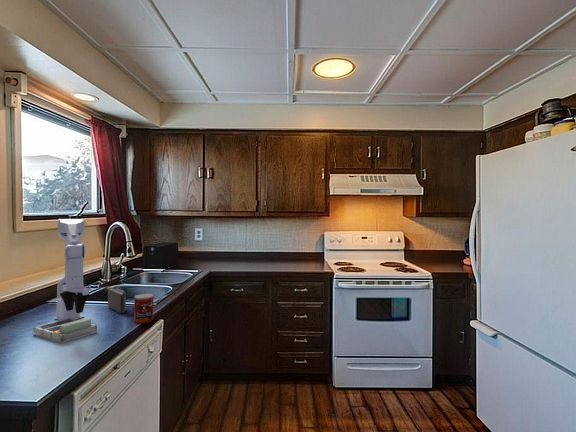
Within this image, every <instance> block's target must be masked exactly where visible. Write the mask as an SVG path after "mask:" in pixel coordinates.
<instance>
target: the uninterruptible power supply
mask: <svg viewBox="0 0 576 432" xmlns="http://www.w3.org/2000/svg"><path fill="white" fill-rule="evenodd" d="M179 249H180V248H179V242H176V241H175V242H171V241H169V242H168V241H166V242H164V241H163V242H155V243H151V244H146V245H143V246H142V254H141V263H142V270H143V269H165V268H168V267H171V266H174V265H177V264H178V265H179V259H180V252H179Z"/></svg>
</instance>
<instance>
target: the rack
mask: <svg viewBox="0 0 576 432" xmlns="http://www.w3.org/2000/svg"><path fill="white" fill-rule="evenodd" d="M77 320H78V319H76V320H75V319H71V318H67V319H63V320H56V321H51V322H49V323H44V324H41V325H37V326H33V328H32V329H33V331H32V333H33V335H34V336H37V337H40V338H44V339H46V340H49V341H53V342H55V343H59V344H64V343H68V342H71V341H73V340H76V339H80V338H83V337H86V336H89V335H90V336H91V335H93V334H95V333H98V325H97V324H95V323H91V326H90V327H86V328H83V329H79V330H76V331H73V332H69V333H66V334H61V332H60V325H62V324H66V323H70V322H73V321H77Z"/></svg>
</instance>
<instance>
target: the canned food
mask: <svg viewBox="0 0 576 432" xmlns="http://www.w3.org/2000/svg"><path fill="white" fill-rule="evenodd" d="M133 299H134V303H133V304H134V308H133V310H134V312H133V313H134V314H133V315H134V319H133V320H134V322H135V324H148V323H150V322H153V320H154V295H153V294H152V293H140V294H136V295H135V296H134V298H133Z"/></svg>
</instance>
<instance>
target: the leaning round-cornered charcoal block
mask: <svg viewBox="0 0 576 432" xmlns="http://www.w3.org/2000/svg"><path fill="white" fill-rule="evenodd" d="M126 298H127V293H126V291H124V290H123V289H119V288H110V289H108V290H107V307H108V308H109V309H112V310H113V311H115V312H117V313H119V314H125V312H126V309H127V299H126Z"/></svg>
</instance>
